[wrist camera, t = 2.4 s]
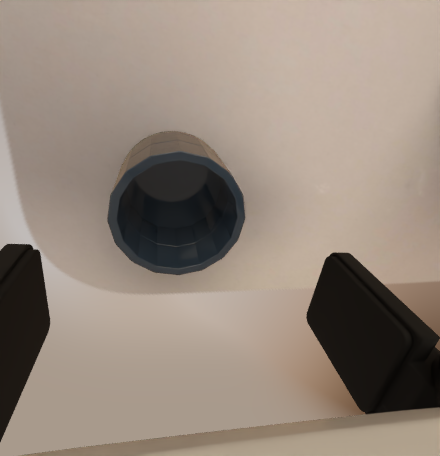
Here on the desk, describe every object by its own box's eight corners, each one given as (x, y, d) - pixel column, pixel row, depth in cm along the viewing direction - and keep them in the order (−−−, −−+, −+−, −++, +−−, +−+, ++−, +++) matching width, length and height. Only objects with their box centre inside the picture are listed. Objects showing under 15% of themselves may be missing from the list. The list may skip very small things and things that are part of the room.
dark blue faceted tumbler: (100, 196, 17) (82, 238, 13) (158, 106, 16) (158, 120, 11) (186, 244, 20) (194, 292, 16) (243, 171, 18) (270, 202, 14)
